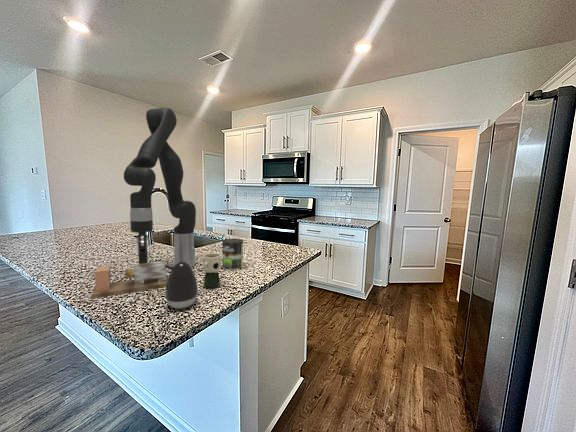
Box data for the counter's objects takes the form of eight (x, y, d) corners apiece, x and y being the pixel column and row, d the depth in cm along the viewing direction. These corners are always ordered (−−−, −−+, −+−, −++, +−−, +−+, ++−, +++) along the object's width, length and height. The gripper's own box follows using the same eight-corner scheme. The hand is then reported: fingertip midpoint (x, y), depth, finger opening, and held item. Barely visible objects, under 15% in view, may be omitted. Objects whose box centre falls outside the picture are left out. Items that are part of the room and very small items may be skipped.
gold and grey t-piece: (162, 271, 103) (162, 245, 102) (163, 273, 101) (162, 247, 99) (125, 276, 96) (124, 248, 95) (125, 278, 94) (124, 250, 93)
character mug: (212, 292, 95) (212, 259, 93) (196, 289, 96) (196, 257, 95) (226, 282, 105) (226, 252, 104) (211, 280, 107) (211, 251, 105)
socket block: (111, 284, 96) (110, 265, 95) (109, 290, 90) (108, 270, 90) (98, 286, 93) (97, 267, 93) (95, 292, 88) (94, 272, 88)
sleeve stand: (167, 278, 108) (167, 259, 107) (169, 286, 99) (169, 265, 98) (95, 288, 95) (94, 267, 94) (91, 298, 86) (90, 275, 85)
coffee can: (235, 272, 118) (235, 243, 116) (217, 269, 122) (217, 241, 120) (246, 266, 127) (247, 239, 126) (230, 263, 131) (230, 237, 130)
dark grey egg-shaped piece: (171, 298, 89) (170, 257, 87) (201, 298, 89) (201, 257, 88) (159, 312, 78) (158, 266, 77) (193, 312, 79) (192, 266, 78)
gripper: (153, 221, 92) (154, 265, 94) (151, 216, 104) (153, 256, 105) (129, 221, 88) (131, 268, 90) (130, 217, 100) (132, 258, 102)
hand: (143, 262), depth 98 cm, fingers closed on gold and grey t-piece, 2 cm apart
